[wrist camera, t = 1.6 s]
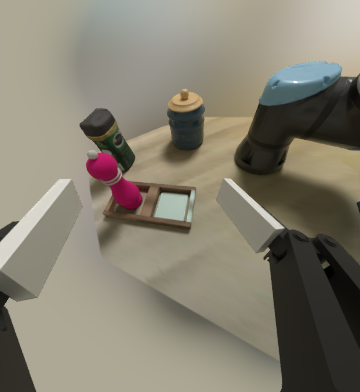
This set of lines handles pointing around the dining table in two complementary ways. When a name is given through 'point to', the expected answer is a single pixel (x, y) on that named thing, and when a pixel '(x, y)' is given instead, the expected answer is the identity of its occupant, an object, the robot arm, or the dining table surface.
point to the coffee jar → (108, 137)
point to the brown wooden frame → (154, 205)
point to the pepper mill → (113, 179)
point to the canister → (186, 120)
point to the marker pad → (172, 206)
